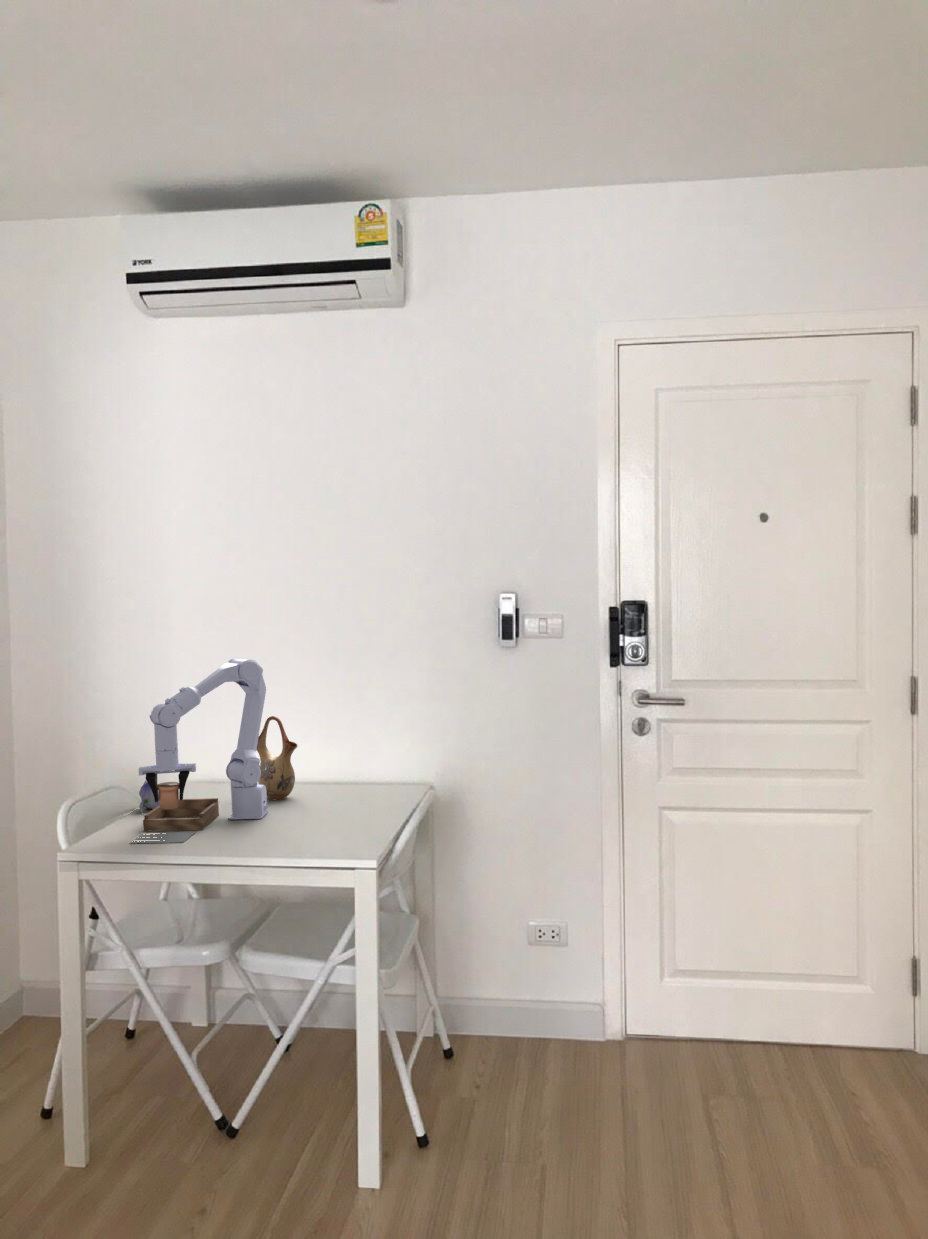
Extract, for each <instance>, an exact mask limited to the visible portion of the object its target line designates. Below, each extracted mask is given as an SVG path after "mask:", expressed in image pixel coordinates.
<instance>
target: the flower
mask: <svg viewBox="0 0 928 1239" xmlns="http://www.w3.org/2000/svg"><path fill="white" fill-rule="evenodd" d="M158 784H159V783H157V785H158ZM138 795H139V797H140V799H141V801H140V803H139V808H138V809H139V811H140V814H141V813H143V814H144V808H146V809H152V810H153V809H154V808H156V807H157V806H159V800H158V802H155V799H154V795H153V793H152V790H151V788H150V786H149V784H148V782H147V781H146V780H145V781H144V783H143V785H142V786H140V789H139V791H138ZM158 797H159V790H158Z"/></svg>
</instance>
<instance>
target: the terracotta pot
mask: <svg viewBox="0 0 928 1239" xmlns="http://www.w3.org/2000/svg"><path fill="white" fill-rule="evenodd" d="M157 784H158V785H157V790H159V808H160V809H165V810H168V809H175V808H178V807H179V792H180V787H179V781H178V782H177V781H164V782H160V783H157Z"/></svg>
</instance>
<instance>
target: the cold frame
mask: <svg viewBox="0 0 928 1239" xmlns="http://www.w3.org/2000/svg"><path fill="white" fill-rule="evenodd" d="M219 816H220V811H219V798H216V797H211V798H209V797H208V798H205V797H204V798H183V800H180V799H179V807H178V808H175V809H168V810H165V809H160V808H159V806H157V807H156V808H154V809H152V810H150V811H148V812H147V813H146V814H144V816H143V819H142V825H143V826H142V828H143V831H144V830H172V831H202V830H204V829H205V828H206V827H208V826H209V825H210V824H211V823H213V821H215V820H216V819H217V818H219ZM165 817H182V818H165ZM164 818H165V819H164Z"/></svg>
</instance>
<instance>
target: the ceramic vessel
mask: <svg viewBox="0 0 928 1239" xmlns="http://www.w3.org/2000/svg"><path fill="white" fill-rule="evenodd" d="M271 721H275V722H276V723H277V725H278V728H279V731H280V735H281V742H282V748H281V749H282V750H281V753H280V754H279V755H278V756H276V755H273V754H272V753H271V752H270V751H269V749H268V747H267V735H268V728H269V725H270V722H271ZM286 733H287V732H286V730H285V728H284V724H283V723H282V721H281V719H280V718H279V717H278V716H275V715H272V716H271V715H270V716H269V717H267V718H266V720H265V723H264V726H263V728H262V730H261V732H260V733H259V737H258V744H257V750H256V752H257V754H258V756H259V758H260V770H261V776H260V779H259V781H258V782H257V784H260V785H265V786H266V792H267V799H270V800H272V799H281V800H284V799H286V798H288V797H289V796H290V794H291V793H292V791H293V789H294V788H295V787H294V786H295V783H296V775H295V769H294V768H293V764H292V761H291V758H292V755H293V752H294V751H295V750H296V749H297V748H298V747H299V745H298V743H296V742H295V741H290V740H289V738H288V735H287V734H286Z"/></svg>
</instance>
